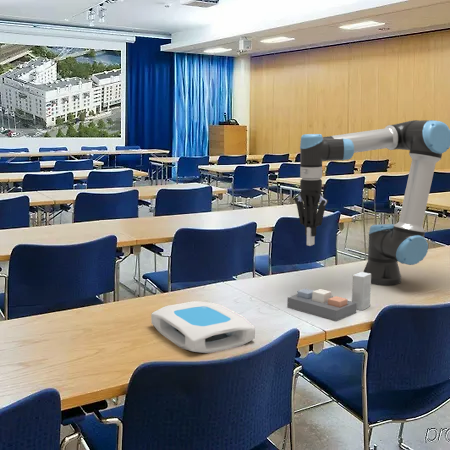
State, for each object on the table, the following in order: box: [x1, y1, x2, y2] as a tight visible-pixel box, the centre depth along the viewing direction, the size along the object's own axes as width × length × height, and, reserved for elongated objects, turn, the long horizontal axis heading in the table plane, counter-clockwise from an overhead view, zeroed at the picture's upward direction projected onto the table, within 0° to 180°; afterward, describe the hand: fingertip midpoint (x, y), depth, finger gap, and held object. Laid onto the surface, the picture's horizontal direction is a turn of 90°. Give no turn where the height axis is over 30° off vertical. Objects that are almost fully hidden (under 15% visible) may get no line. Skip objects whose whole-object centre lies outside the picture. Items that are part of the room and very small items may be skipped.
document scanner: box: [150, 300, 256, 354], centre depth 181 cm, size 21×28×6 cm
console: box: [287, 294, 357, 322], centre depth 205 cm, size 12×20×4 cm, turn 46°
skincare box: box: [351, 271, 372, 311], centre depth 207 cm, size 6×4×12 cm
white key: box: [312, 288, 332, 303], centre depth 204 cm, size 5×5×4 cm
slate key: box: [296, 288, 314, 299], centre depth 209 cm, size 5×5×4 cm
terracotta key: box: [328, 295, 349, 308], centre depth 200 cm, size 5×5×4 cm
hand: (310, 244), depth 214 cm, fingers closed
